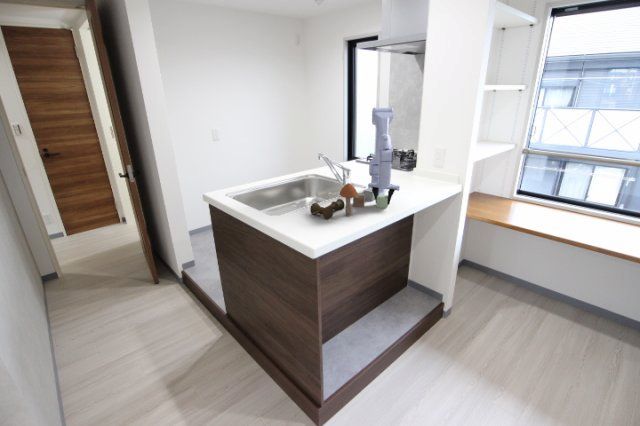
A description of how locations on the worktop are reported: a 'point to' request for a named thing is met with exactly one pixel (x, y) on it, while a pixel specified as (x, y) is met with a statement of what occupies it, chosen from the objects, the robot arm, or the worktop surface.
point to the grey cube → (369, 194)
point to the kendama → (327, 208)
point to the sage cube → (382, 201)
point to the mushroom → (348, 196)
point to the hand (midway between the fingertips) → (382, 203)
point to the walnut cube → (359, 200)
